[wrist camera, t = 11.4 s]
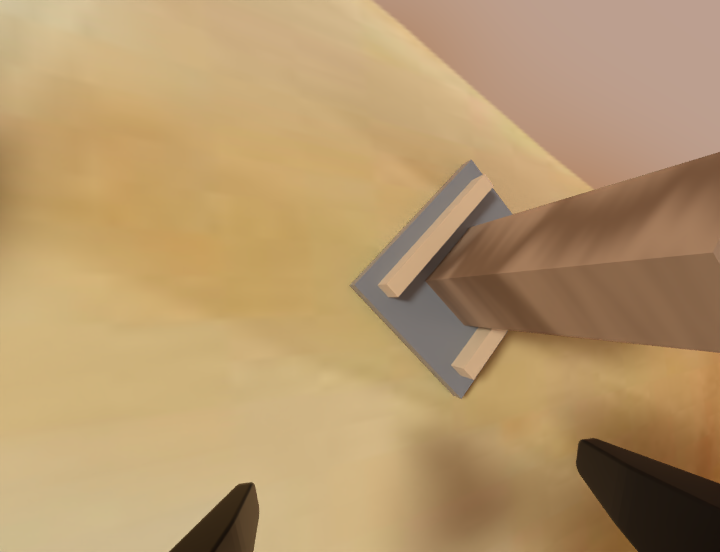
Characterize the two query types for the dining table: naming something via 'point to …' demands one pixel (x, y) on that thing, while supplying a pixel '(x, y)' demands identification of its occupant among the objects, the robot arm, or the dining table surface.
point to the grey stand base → (416, 298)
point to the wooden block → (600, 264)
